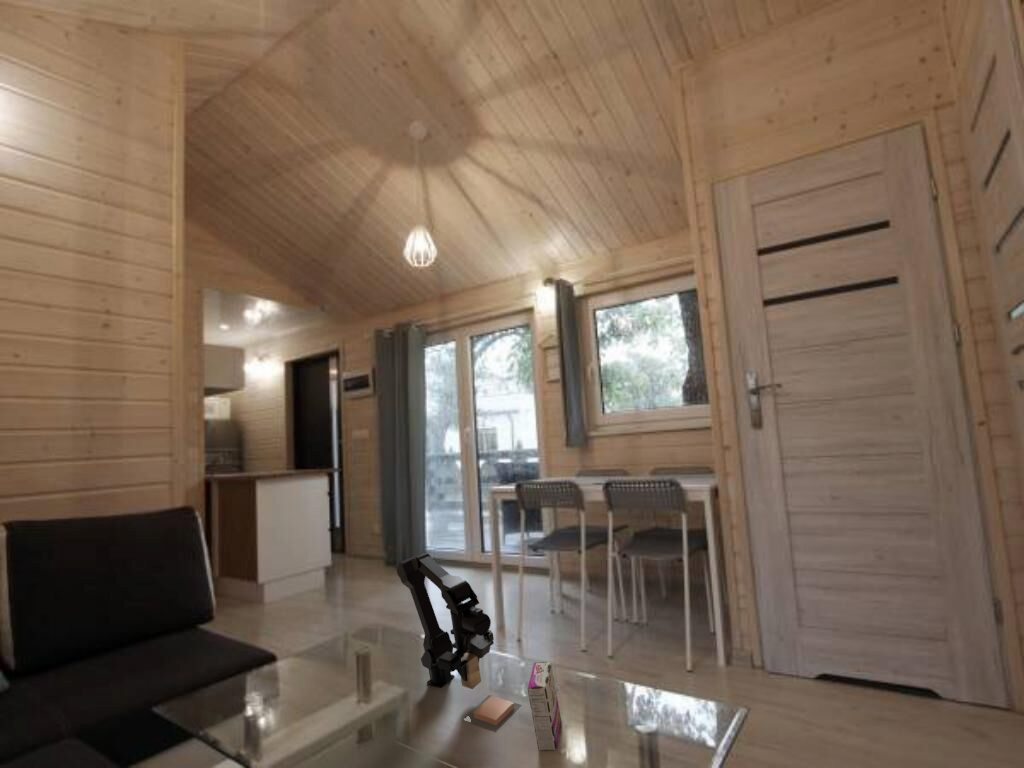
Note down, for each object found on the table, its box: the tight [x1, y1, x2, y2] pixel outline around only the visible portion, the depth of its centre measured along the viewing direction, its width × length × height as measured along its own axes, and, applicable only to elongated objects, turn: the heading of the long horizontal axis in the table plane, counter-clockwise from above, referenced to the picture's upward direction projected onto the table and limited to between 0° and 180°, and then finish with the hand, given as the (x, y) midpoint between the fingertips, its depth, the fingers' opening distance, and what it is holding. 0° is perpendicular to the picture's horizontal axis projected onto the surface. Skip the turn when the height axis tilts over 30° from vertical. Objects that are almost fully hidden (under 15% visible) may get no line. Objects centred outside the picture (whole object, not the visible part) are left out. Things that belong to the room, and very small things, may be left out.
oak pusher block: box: [460, 652, 482, 690], centre depth 160 cm, size 4×4×8 cm
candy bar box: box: [526, 661, 562, 752], centre depth 140 cm, size 11×5×16 cm, turn 168°
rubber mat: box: [467, 694, 522, 733], centre depth 153 cm, size 12×12×1 cm
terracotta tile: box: [473, 695, 515, 726], centre depth 153 cm, size 2×8×8 cm
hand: (470, 676), depth 161 cm, fingers closed on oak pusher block, 4 cm apart
